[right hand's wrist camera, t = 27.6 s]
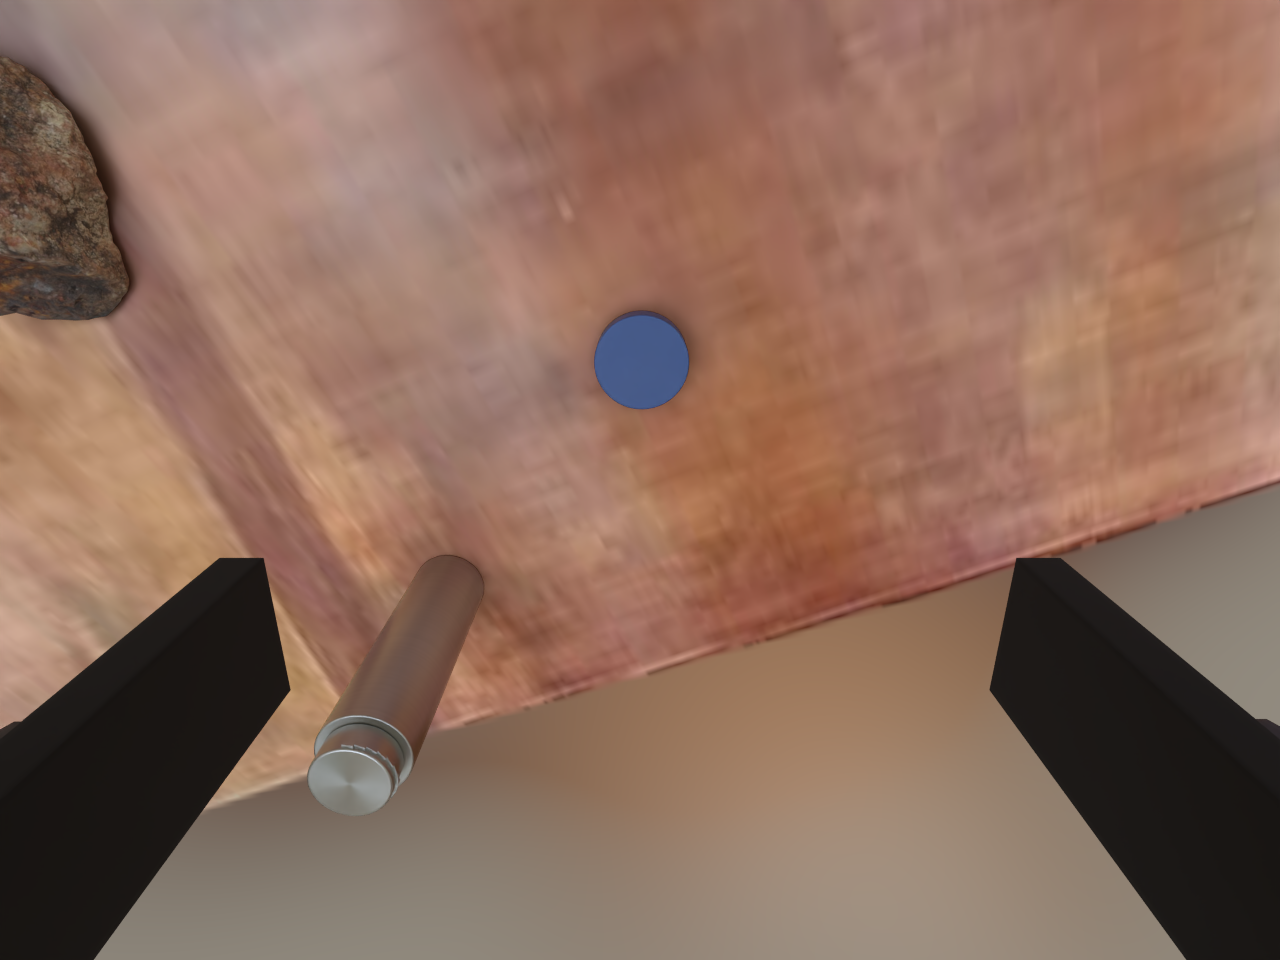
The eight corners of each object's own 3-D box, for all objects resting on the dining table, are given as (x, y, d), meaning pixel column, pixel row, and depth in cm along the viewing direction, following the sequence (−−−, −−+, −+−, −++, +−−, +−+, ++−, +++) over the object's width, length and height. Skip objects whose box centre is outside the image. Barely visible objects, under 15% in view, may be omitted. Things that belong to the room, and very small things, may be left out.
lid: (649, 291, 36) (650, 294, 35) (704, 364, 38) (708, 371, 36) (577, 348, 37) (574, 355, 36) (634, 418, 39) (633, 427, 37)
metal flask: (484, 616, 43) (404, 826, 28) (417, 613, 43) (302, 821, 28) (483, 557, 42) (398, 744, 27) (414, 553, 42) (291, 739, 27)
